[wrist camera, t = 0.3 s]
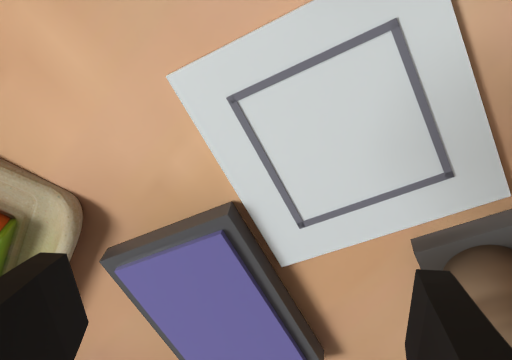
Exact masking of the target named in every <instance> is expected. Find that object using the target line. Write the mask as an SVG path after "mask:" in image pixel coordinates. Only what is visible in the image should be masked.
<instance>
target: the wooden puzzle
mask: <svg viewBox="0 0 512 360" xmlns="http://www.w3.org/2000/svg"><path fill="white" fill-rule="evenodd" d="M82 222H83V213H82V207H81V204H80V202H79V200H78V199H77V198H76V196H74V195H73V194H71V193H70V192H68V191H66V190H64V189H62V188H60V187H58V186H56V185H54V184H52V183H50V182H48V181H46V180H44V179H42V178H40V177H38V176H36V175H34V174H32V173H30V172H28V171H26V170H24V169H22V168H19V167H17V166H15V165H13V164H11V163H9V162H7V161H5V160H3V159H1V158H0V276H2V275H4V274H5V273H7V272H8V271H10V270H11V269H13V268H15V267H16V266H18V265H19V264H21V263H23V262H24V261H26V260H28V259H29V258H31V257H33V256H35V255H36V254H38V253H40V252H46V253H66V254H67V257H68V260H69V262H70V260H71V257H72V255H73V252H74V250H75V247H76V245H77V242H78V239H79V236H80V233H81V228H82Z"/></svg>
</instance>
